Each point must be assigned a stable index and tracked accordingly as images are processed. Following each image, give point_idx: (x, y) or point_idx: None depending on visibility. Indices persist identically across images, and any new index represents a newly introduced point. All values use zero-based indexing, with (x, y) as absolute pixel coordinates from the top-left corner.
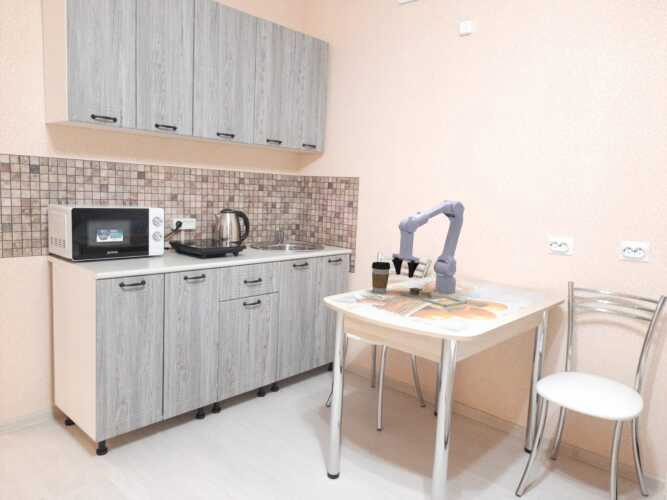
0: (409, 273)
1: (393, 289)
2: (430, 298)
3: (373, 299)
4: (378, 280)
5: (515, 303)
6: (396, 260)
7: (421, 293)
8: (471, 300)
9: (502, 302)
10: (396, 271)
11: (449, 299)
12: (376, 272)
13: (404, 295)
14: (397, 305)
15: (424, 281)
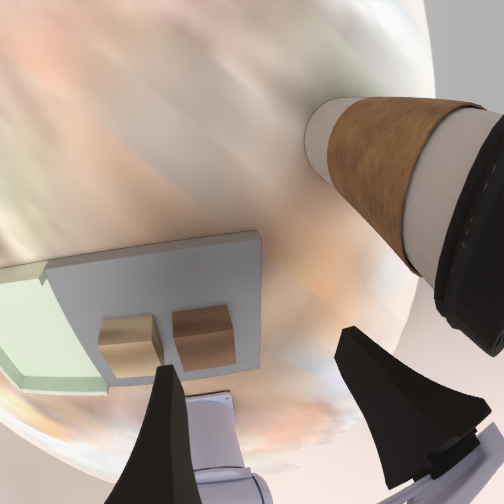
0: (152, 405)
1: (368, 297)
2: (91, 335)
3: (259, 4)
4: (396, 104)
5: (75, 453)
6: (438, 448)
7: (130, 332)
8: (102, 424)
9: (82, 447)
10: (364, 348)
11: (75, 383)
12: (480, 111)
13: (196, 247)
14: (45, 64)
15: (353, 411)
